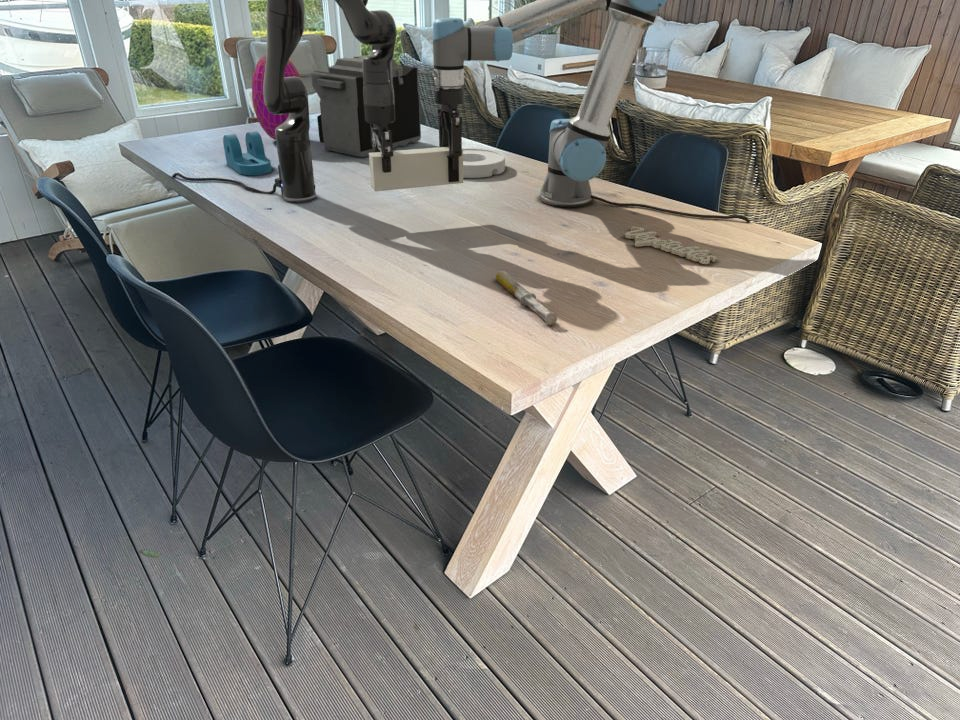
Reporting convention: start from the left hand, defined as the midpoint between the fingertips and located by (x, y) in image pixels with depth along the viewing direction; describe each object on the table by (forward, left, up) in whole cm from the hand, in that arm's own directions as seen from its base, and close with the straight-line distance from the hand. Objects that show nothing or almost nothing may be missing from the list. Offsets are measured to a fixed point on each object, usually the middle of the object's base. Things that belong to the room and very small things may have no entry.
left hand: (383, 167), depth 177 cm
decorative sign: (+67, +30, -15) cm, 75 cm away
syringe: (+56, -17, -15) cm, 61 cm away
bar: (+5, +7, -5) cm, 10 cm away
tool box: (-64, +59, -15) cm, 88 cm away
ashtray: (-16, +57, -15) cm, 61 cm away
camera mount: (-73, +11, -15) cm, 75 cm away
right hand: (+10, +15, -4) cm, 19 cm away
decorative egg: (-97, +44, -15) cm, 107 cm away
